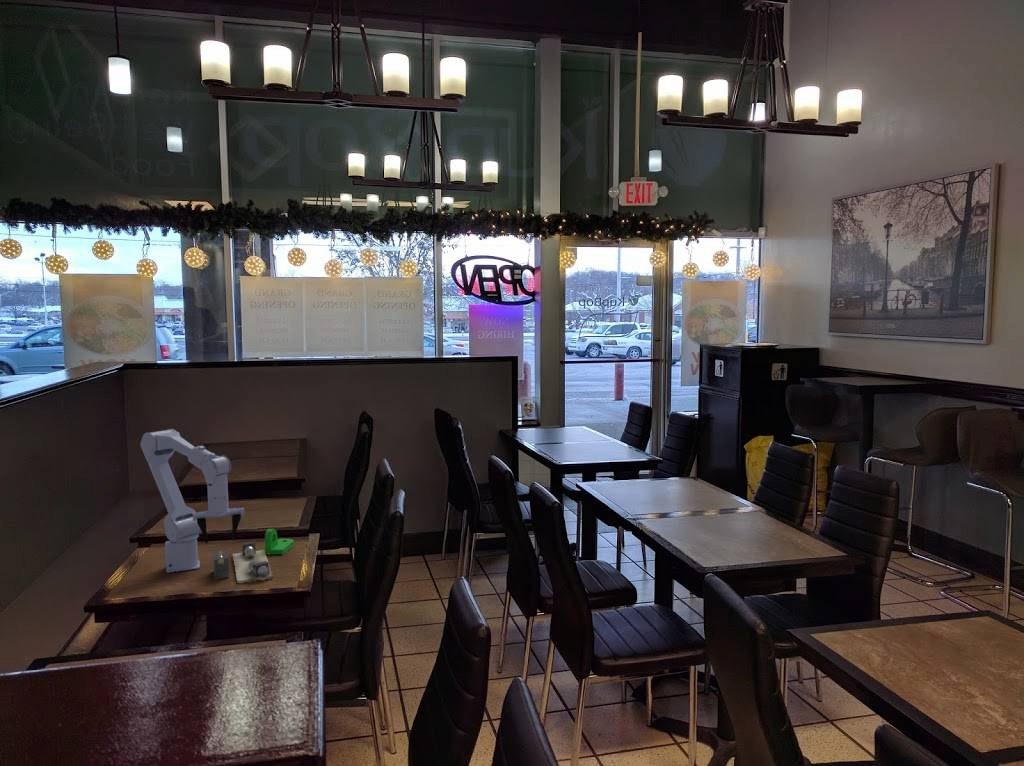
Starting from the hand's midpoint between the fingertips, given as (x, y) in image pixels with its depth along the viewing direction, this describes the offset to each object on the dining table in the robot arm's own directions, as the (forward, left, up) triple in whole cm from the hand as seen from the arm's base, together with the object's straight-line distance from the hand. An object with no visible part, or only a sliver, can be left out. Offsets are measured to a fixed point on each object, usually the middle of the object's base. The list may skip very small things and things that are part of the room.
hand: (220, 540), depth 226 cm
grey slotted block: (0, 0, -10) cm, 11 cm away
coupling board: (+9, +3, -10) cm, 14 cm away
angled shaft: (+10, -7, -10) cm, 16 cm away
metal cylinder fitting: (+9, +13, -10) cm, 19 cm away
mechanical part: (+19, +18, -11) cm, 29 cm away
